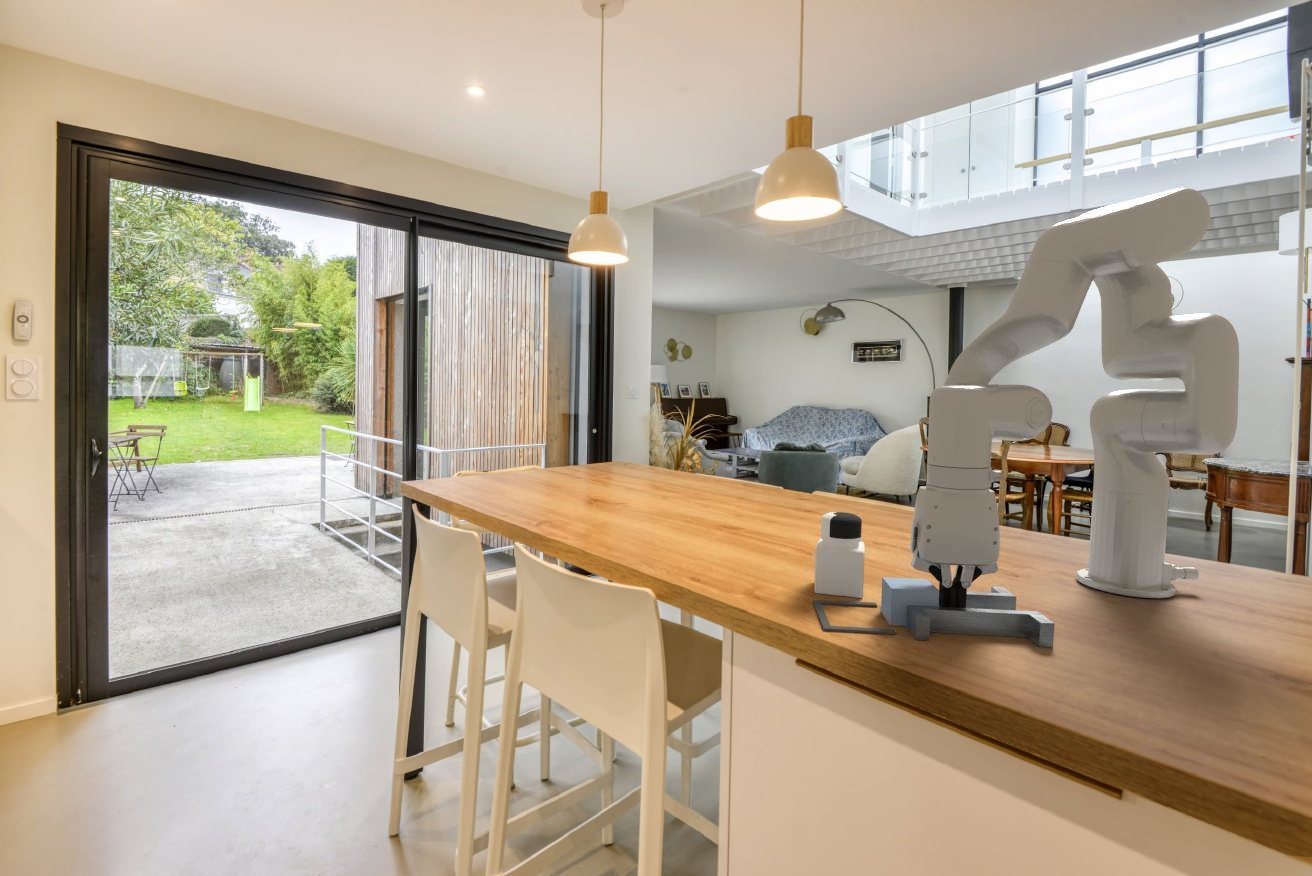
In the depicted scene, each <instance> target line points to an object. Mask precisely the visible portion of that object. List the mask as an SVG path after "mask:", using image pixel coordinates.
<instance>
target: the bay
mask: <svg viewBox="0 0 1312 876" xmlns="http://www.w3.org/2000/svg"><path fill="white" fill-rule="evenodd" d="M812 604H813V606H814V609H815V611H816V613H817V617H818V620H819V622H820V624H821V627H822V629H823V631H824V632H841V633H842V632H843V633H859V634H881V635H897V631H896V629H894V628H880V627H879V628H877V627H863V626H862V627H861V626H860V627H859V626H843V625H842V626H841V625H840V626H837V625H831V624H830V620H829V619H828V616H827V613H826V612H825V610H824V608H823V605H831V606H846V605H847V607H848V606H849V607H850V606H851V607H852V606H853V607H870V608H877V607H878V604H877V603H876V602H869V601H853V600H851V601H848V600H828V599H827V600H826V599H812Z"/></svg>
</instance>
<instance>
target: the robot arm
mask: <svg viewBox="0 0 1312 876" xmlns="http://www.w3.org/2000/svg"><path fill="white" fill-rule="evenodd" d="M1210 220H1211V210H1210V205H1209V203H1208V200H1207V199H1206V197H1205V196H1204V195H1203V194H1202V193H1201V192H1199V191H1198V190H1196V189H1195V188H1191V187H1180V188H1175V189H1171V190H1166V191H1163V192H1159V193H1155V194H1152V195H1146V196H1143V197H1140V198H1135V199H1132V200H1127V201H1123V202H1119V203H1116V204H1111V205H1107V206H1104V207H1100V208H1097V209H1093V210H1091V211H1087V212H1085V213H1082V214H1081V215H1079V216H1077V217H1075V218H1070V219H1067V220H1064V221H1061V222H1058V223H1055V224H1054V225H1052V226H1050V227H1048V228H1047V229H1045V230H1044V231H1043V232H1042V233H1041V234H1040V235H1039V237H1038V238H1037V239H1036V241H1035V243H1034V245H1033V248H1032V250H1031V252H1030V254H1029V257H1028V259H1027V262H1026V264H1025V266H1024V267H1023V270H1022V273H1021V275H1020V278H1019V280H1018V283H1017V284H1016V288H1015V290H1014V291H1013V294H1012V297H1011V299H1010V302H1009V304H1008V306H1007V309H1006V310H1005V312H1004V314H1002V316H1001V317H999V318H997V319H996V320H995V321H994V322H992V324H990V325H989V326H988V327H987V328H986V329H984V330H983V331H982V332H981V333H980V334H979V335H978V336H976V337H975V338H974V340H973V341H971V342H970V343H969V344H968V345H967V346H966V347H965V348H964V349H963V350H962V351H961V353H960V354H959V355H958V357H957V358H956V359H955V361H954V362H953V364H952V365H951V368H950V370H949V373H948V374H947V377H946V380H945V381H944V384H943V385H942V386H938V387H936V388H934V389H933V390H932V391H931V393H930V396H929V407H928V409H929V412H928V437H927V464H926V480H925V481H926V484H925V485H924V486H923V485H921V486H919V488H918V491H917V496H916V499H915V504H914V505H915V506H914V508H913V517H912V524H911V531H910V533H911V534H910V550H911V551H910V552H911V553H912V554H913V555H912V558H911V562H910V565H911V567H912V568H913V569H915V570H916V571H920V572H922V573H928V574H930V575H932V576H933V577H934V578H935V580H936V581H937V582H939V583H938V590H939V606H940V607H953V608H966V596H967V592H968V590H967V589H969V588H970V587H971V586H972V583H974V581H976V580H977V579H978V578H979V577H981V576H982V575H983V576H985V575H990V574H995V573H997V572H998V571H999V568H998V561H999V557H1000V550H1001V549H1000V548H1001V547H1000V546H1001V545H1000V543H1001V542H1000V541H1001V540H1000V537H1001V536H1000V519H999V511H998V505H997V504H998V503H997V499H996V494H995V491H994V490H992V489H990V488H992V483H994V482H1000V481H1001V479H1002V473H1001V471H1000V470H998V471H997V470H995V469H993V467H991V464H992V444H993V441H992V440H997V441H1012V442H1024V441H1028V440H1032V439H1033V438H1036V437H1038V436H1040V435H1041V434H1043V433H1044V432H1045V431H1046V430H1047V428H1048V427H1049V426H1050V424H1051V421H1052V417H1053V406H1052V405H1053V404H1052V403H1051V401H1050V399H1049V397H1048V395H1047V394H1045V393H1044V392H1043V391H1041V390H1040V389H1038V388H1037V387H1034V386H1031V385H1026V384H996V383H995V384H990V383H991V381H992V380H993V379H994V377H995V376H997V375H998V373H1000V372H1001V371H1002V370H1003V369H1004V368H1006V367H1007V366H1008V365H1010V364H1012V363H1014V362H1016V361H1017V360H1020V359H1022V358H1023V357H1025V356H1028V355H1030V354H1032V353H1035V352H1037V351H1039V350H1041V349H1044V348H1046V347H1049V346H1050V345H1052V344H1055V343H1056V342H1057V341H1060V340H1062V339H1064V338H1065V337H1066V336H1068V335H1069V334H1070V333H1071V331H1073V329H1074V326H1075V324H1076V322H1077V319H1078V316H1079V314H1080V312H1081V309H1082V306H1083V304H1084V302H1085V299H1086V297H1087V294H1088V292H1089V290H1090V287H1091V286H1092V282H1094V283H1095V285H1096V288H1097V290H1098V294H1099V297H1100V311H1101V316H1100V317H1101V324H1100V325H1101V360H1102V361H1101V362H1102V363H1101V364H1102V368H1103V370H1104V372H1105V374H1107V376H1108V377H1110V378H1112V379H1115V380H1119V381H1130V382H1131V381H1134V382H1135V381H1137V382H1139V381H1141V382H1145V381H1151V382H1152V381H1153V382H1158V381H1168V382H1169V381H1182V382H1183V385H1184V389H1156V388H1155V389H1151V388H1150V389H1149V388H1147V389H1146V388H1145V389H1143V388H1142V389H1138V388H1137V389H1136V388H1135V389H1122V390H1121V389H1120V390H1115V391H1111V392H1108V393H1105V394H1104V395H1101V396H1100V397H1099V398H1098V399H1096V401H1095V402H1094V403H1093V405H1092V407H1091V409H1090V412H1089V428H1090V434H1091V439H1092V445H1093V446H1092V447H1093V455H1094V456H1093V457H1094V458H1093V460H1094V463H1093V464H1094V468H1093V486H1092V488H1093V489H1092V501H1091V502H1092V503H1091V505H1092V506H1091V517H1090V518H1091V519H1090V520H1091V521H1090V535H1089V536H1090V537H1089V552H1088V553H1089V554H1088V567H1086V568H1082V569H1079V570H1077V571H1076V577H1075V578H1076V580H1077V581H1078V582H1080V583H1081V584H1083V585H1085V586H1087V587H1090V588H1092V589H1095V590H1098V591H1102V592H1107V593H1111V594H1116V595H1120V596H1127V597H1133V598H1134V597H1135V598H1142V599H1144V598H1145V599H1167V598H1172V597H1174V596H1175V595H1176V588H1177V587H1176V586H1175V585H1174V584H1173V583H1171V582H1174V581H1176V580H1177V579H1181V580H1192V581H1196V580H1198V578H1199V577H1200V576H1199V575H1200V574H1199V571H1198V569H1197V567H1194V566H1193V567H1192V566H1191V567H1190V566H1179V567H1178V566H1177V565H1176V564H1172V563H1170V562H1167V561H1166V560H1165V557H1166V544H1167V543H1166V542H1167V528H1168V516H1169V502H1170V489H1171V482H1170V481H1171V480H1170V477H1169V474H1168V472H1167V470H1166V467H1165V466H1164V465H1163V464H1162V462H1161V460H1160V459H1159V458H1158V456H1157V455H1156V454H1155V453H1167V454H1168V453H1170V454H1182V455H1183V454H1184V455H1195V456H1196V455H1198V456H1199V455H1200V456H1209V455H1217V454H1219V453H1222V452H1224V451H1225V450H1227V449H1228V448H1229V447H1230V446H1231V445H1232V443H1233V441H1234V439H1235V436H1236V432H1237V427H1238V416H1239V385H1240V384H1239V383H1240V382H1239V380H1240V378H1239V377H1240V344H1239V338H1238V335H1237V331H1236V329H1235V327H1234V325H1233V324H1232V323H1231V322H1230V320H1228V319H1227V318H1226V317H1224V316H1223V315H1218V314H1215V313H1205V312H1204V313H1202V312H1201V313H1192V314H1191V313H1190V314H1181V315H1180V314H1179V315H1174V314H1173V308H1172V284H1171V281H1170V279H1169V276H1168V275H1167V273H1166V272H1165V271H1164V270H1163V269H1162V267H1160V266H1159V265H1158V264H1160V263H1163V262H1164V261H1168V260H1170V259H1172V258H1174V257H1177V256H1179V255H1181V254H1184V253H1186V252H1188V251H1190V250H1191V249H1193V248H1194V247H1195V246H1197V245H1198V244H1199V243H1200V242H1201V240H1203V238H1204V236H1205V235H1206V232H1207V230H1208V228H1209V226H1210V222H1211V221H1210ZM951 566H955V570H954V575H953V577H952V569H951ZM952 578H953V579H952Z"/></svg>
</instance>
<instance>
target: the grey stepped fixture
mask: <svg viewBox="0 0 1312 876" xmlns="http://www.w3.org/2000/svg"><path fill="white" fill-rule="evenodd" d="M990 588H991V589H990V592H988V591H987V592H984V591H982V592H981V591H967V596H966V608H953V607H940V606H939V607H932V606H912V605H907V626H906V629H907V631H908V632H910V634H911V636H913V638H914V640H916V641H930V633H936V634H937V633H939V634H956V635H973V636H974V635H976V636H993V637H994V636H995V637H996V636H998V637H1015V638H1028V639H1029V640H1030V641H1032V643H1034V644H1035V645H1037V646H1038V647H1039V648H1040V647H1042V648H1054V640H1055V622H1053V621H1052V620H1050V618H1048V617H1046V616H1045V615H1043V614H1042V613H1041V612H1039V611H1033V610H1016V609H1017V608H1016V607H1017V596H1016V595H1015V594H1014V593H1012V592H1011V591H1010V590H1008V589H1006V588H1005V587H1004V586H991V587H990Z"/></svg>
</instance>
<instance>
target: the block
mask: <svg viewBox="0 0 1312 876" xmlns="http://www.w3.org/2000/svg"><path fill="white" fill-rule="evenodd" d="M880 603H881V605H880V612H881V615H883V617H884V618H885V620H886V621H887V623H888V624H889V625H890V626H894V627H895V626H896V627H897V626H899V627H907V605H912V606H932V607H939V588H937V587H936V586H935V585H934V584H933V583H932V582H931V581H930V580H929V579H927V578H914V577H913V578H909V577H888V576H885V577H884V576H882V577H881V602H880Z"/></svg>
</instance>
